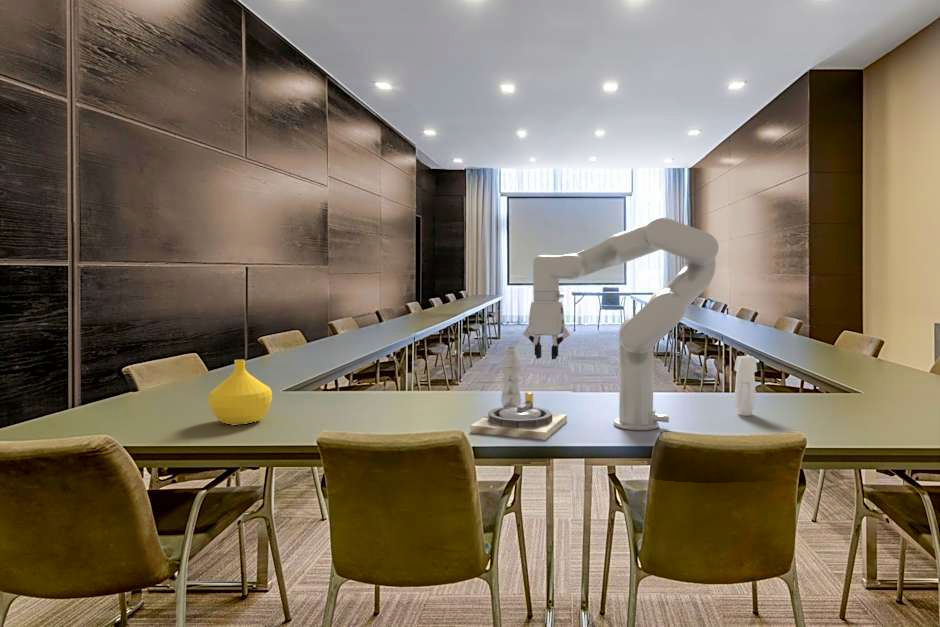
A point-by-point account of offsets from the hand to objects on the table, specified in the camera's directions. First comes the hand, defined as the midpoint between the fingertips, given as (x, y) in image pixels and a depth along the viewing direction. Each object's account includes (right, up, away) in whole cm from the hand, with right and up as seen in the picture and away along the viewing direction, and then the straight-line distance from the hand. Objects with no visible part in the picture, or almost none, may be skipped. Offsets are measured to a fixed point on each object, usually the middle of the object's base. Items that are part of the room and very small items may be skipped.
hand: (546, 357), depth 187 cm
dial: (-7, -17, -3) cm, 19 cm away
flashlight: (+62, -18, +8) cm, 65 cm away
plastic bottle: (-9, -18, +21) cm, 29 cm away
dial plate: (-8, -20, -4) cm, 22 cm away
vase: (-93, -20, +6) cm, 95 cm away
